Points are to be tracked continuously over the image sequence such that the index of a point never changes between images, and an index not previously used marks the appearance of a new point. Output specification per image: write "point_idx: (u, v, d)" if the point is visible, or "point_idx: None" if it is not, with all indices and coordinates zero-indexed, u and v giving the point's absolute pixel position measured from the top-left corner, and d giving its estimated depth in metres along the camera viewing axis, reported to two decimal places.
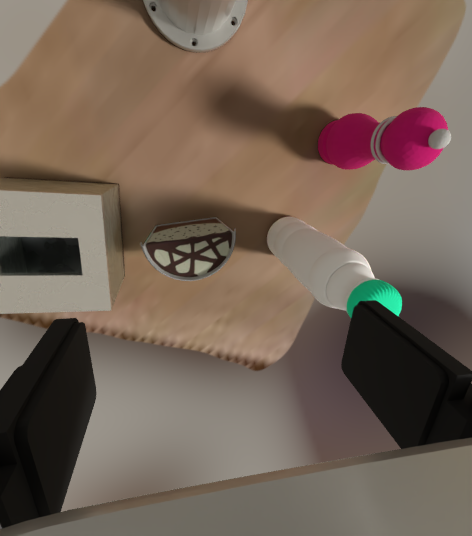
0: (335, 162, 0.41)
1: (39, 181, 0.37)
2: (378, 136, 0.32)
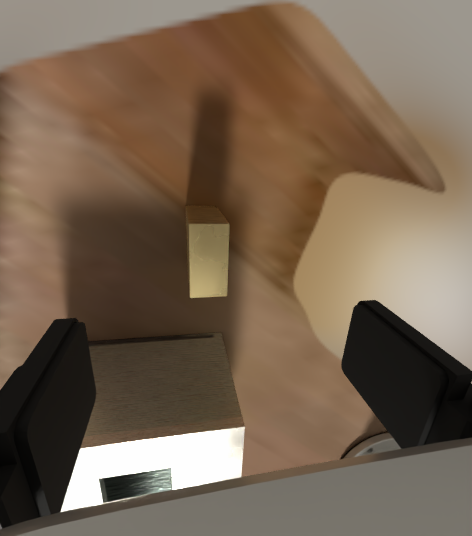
0: None
1: None
2: None
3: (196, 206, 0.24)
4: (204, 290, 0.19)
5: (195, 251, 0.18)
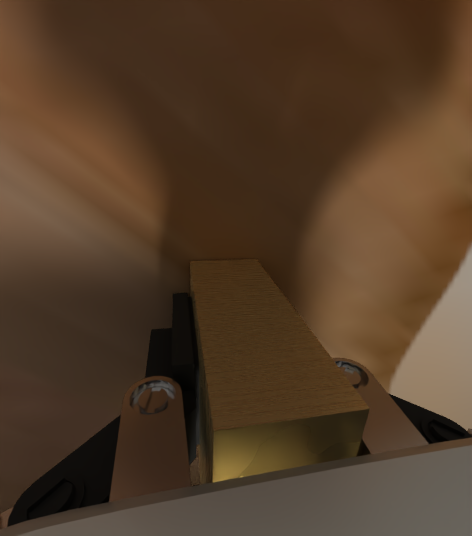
0: None
1: None
2: None
3: (215, 265, 0.10)
4: None
5: None
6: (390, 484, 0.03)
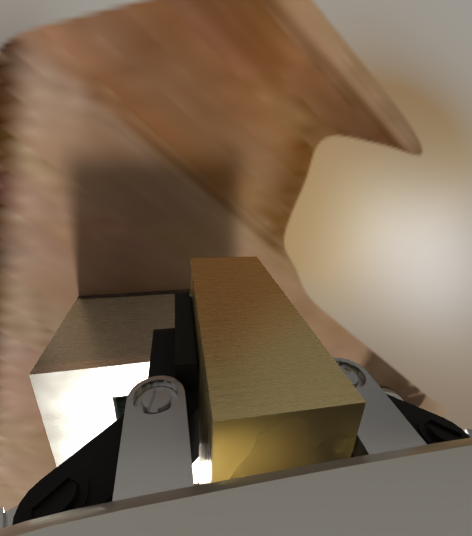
0: None
1: None
2: None
3: (215, 262, 0.10)
4: None
5: None
6: (390, 484, 0.03)
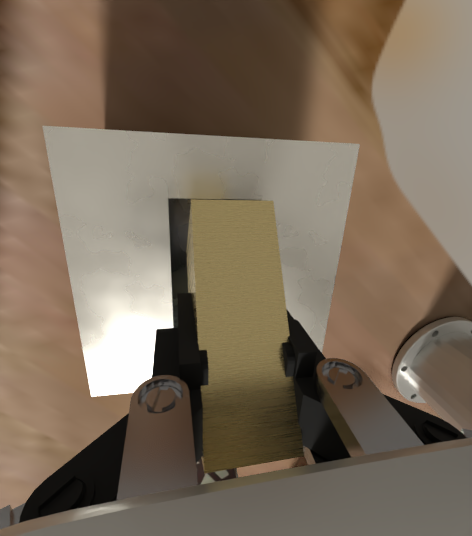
0: None
1: None
2: None
3: (221, 215, 0.08)
4: None
5: None
6: (390, 484, 0.03)
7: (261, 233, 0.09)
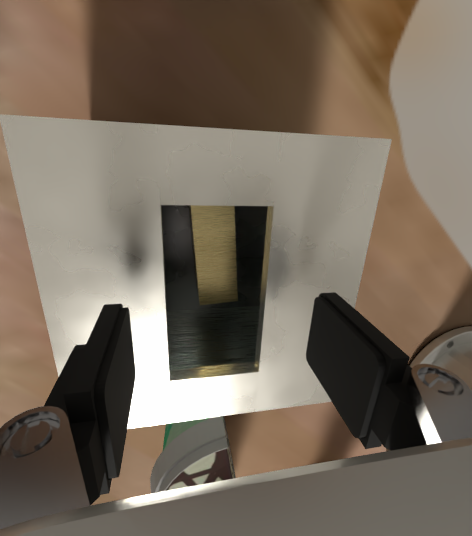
0: None
1: None
2: None
3: None
4: None
5: None
6: (390, 484, 0.03)
7: (226, 211, 0.17)
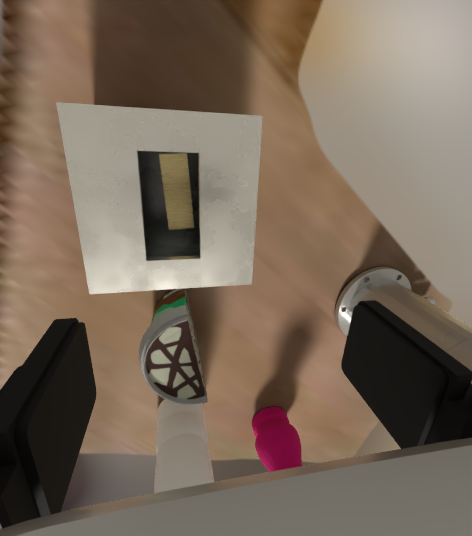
0: (262, 438, 0.45)
1: None
2: None
3: (169, 159, 0.26)
4: None
5: None
6: (390, 484, 0.03)
7: (182, 165, 0.27)
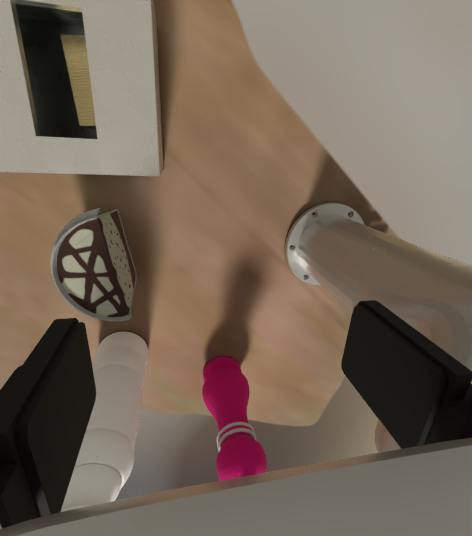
0: (207, 383, 0.43)
1: None
2: (240, 429, 0.36)
3: (72, 42, 0.25)
4: None
5: (89, 127, 0.29)
6: (390, 484, 0.03)
7: None
